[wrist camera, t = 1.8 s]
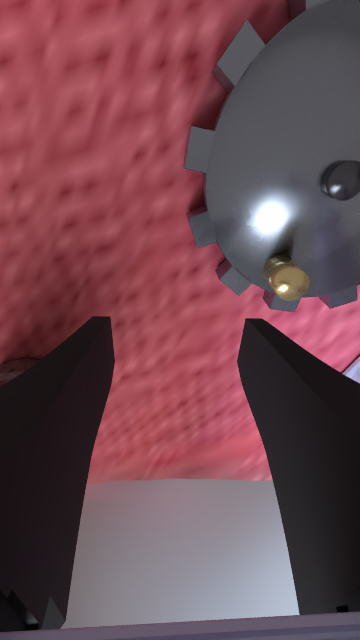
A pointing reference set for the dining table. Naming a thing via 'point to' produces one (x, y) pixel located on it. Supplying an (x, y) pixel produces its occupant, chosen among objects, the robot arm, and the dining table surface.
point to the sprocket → (286, 159)
